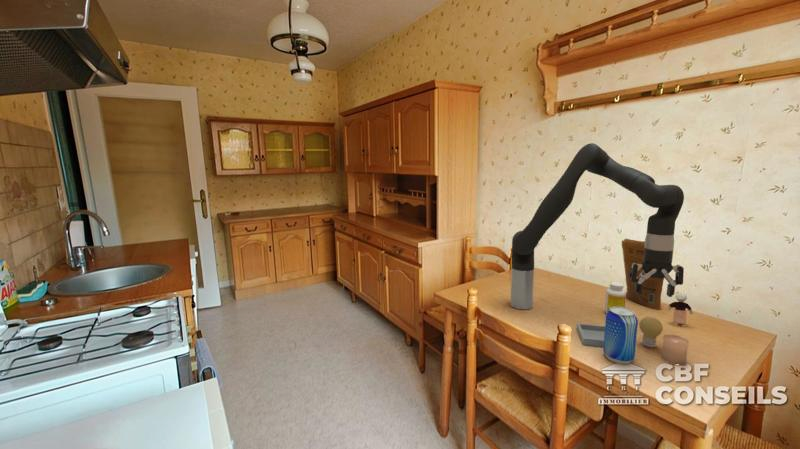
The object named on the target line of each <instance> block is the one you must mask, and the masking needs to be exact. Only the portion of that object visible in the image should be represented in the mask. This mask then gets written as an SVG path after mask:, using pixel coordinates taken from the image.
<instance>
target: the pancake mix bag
mask: <svg viewBox="0 0 800 449" xmlns="http://www.w3.org/2000/svg"><path fill="white" fill-rule="evenodd" d="M644 243H645V241H641V240H635V239H630V238H624V239H622V240H621V248H622V256H623V257H622V258H623V264H624V272H625V273H624V275H625V284H626V285H625V286H626V292H625V299H627V300H629V301H631V302H634V303H636V304H639V305H641V306H644V307H646V308H648V309H652V310H662V306H661V301H662V292H663V287H664V281H665V278H663V279H662V278H651V277H649V278H648V279H647V280H645V281H643V282H642V283H641V284H642V292H641V295H639V294H637V292H636V291H635V282H633V281H631V280H630V279H629V275H630V269H631V264H632V263H633V262H634V263H636V264H642V263H643V257H644ZM642 271H644V270H643V269H642V268H640V269H639V270H638V271H637V275H636V278H637V277H638V276H639V275H640V273H641V272H642Z"/></svg>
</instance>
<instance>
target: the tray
mask: <svg viewBox="0 0 800 449" xmlns="http://www.w3.org/2000/svg"><path fill="white" fill-rule="evenodd" d="M576 331H577V333H578V336H579V338H580V341H581V343H582V345H583V346H588V347H589V346H591V347H598V348H603V347H604V334H605V325H602V324H601V325H600V324H592V323H591V324H589V323H582V322H581V323H580V322H579V323H578V322H577V323H576Z"/></svg>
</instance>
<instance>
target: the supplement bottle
mask: <svg viewBox="0 0 800 449" xmlns="http://www.w3.org/2000/svg"><path fill="white" fill-rule="evenodd" d="M605 292H606V293H605V307H604V311H605V314H607V313H608V312H609V311H610V308H611V307H624V308H626V307H625V305H626V292H625V290H624V284H623V283H621V282H613V281H612V282H610V283H609V287H608V288H607V289H606V291H605Z"/></svg>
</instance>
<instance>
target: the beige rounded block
mask: <svg viewBox="0 0 800 449" xmlns="http://www.w3.org/2000/svg"><path fill="white" fill-rule="evenodd" d="M688 349H689V340H688V339H686V338H684V337H682V336H679V335H675V334H664V335H663V341H662V350H661V359H662V360H663V361H664V362H666V363H668V364H671V363H672V365H674V364H679V365H678V366H685V365H686V363H687V359H688V358H687V357H688ZM684 364H685V365H684Z"/></svg>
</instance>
